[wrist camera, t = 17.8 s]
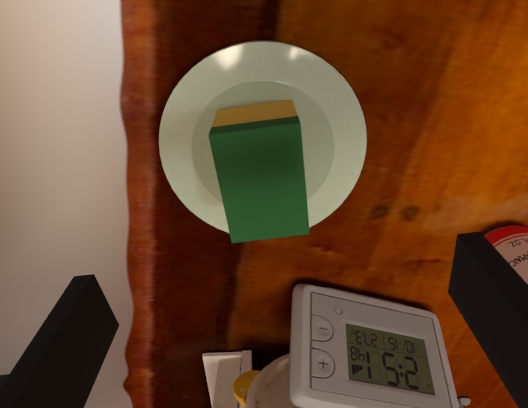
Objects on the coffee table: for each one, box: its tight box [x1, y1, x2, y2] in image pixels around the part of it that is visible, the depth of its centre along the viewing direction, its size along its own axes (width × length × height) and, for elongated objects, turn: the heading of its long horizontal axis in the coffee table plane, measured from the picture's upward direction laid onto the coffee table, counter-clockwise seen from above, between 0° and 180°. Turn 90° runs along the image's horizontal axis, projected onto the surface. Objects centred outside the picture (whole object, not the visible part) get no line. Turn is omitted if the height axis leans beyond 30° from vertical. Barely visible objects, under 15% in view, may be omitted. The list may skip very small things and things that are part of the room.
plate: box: [159, 40, 367, 233], centre depth 28 cm, size 16×16×1 cm
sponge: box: [208, 100, 310, 243], centre depth 26 cm, size 8×6×6 cm
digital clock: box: [289, 284, 459, 408], centre depth 34 cm, size 16×9×11 cm, turn 62°
